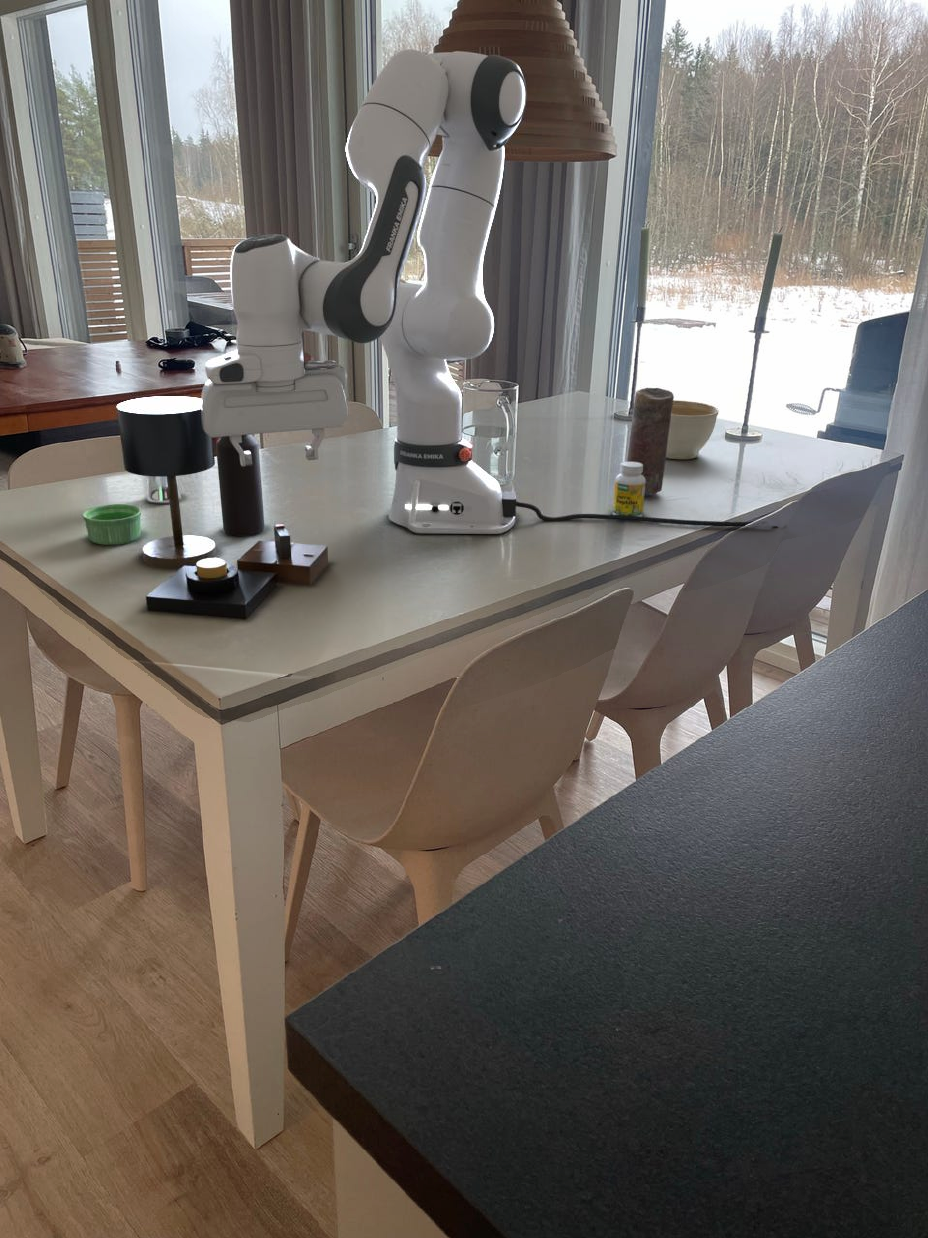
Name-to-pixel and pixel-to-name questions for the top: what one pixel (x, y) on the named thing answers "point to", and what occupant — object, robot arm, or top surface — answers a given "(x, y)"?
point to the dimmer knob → (282, 541)
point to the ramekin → (113, 523)
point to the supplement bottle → (629, 490)
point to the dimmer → (286, 562)
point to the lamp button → (211, 568)
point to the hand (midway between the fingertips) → (279, 462)
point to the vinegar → (240, 487)
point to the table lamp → (168, 465)
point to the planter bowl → (689, 428)
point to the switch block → (212, 593)
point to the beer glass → (159, 490)
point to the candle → (651, 435)
